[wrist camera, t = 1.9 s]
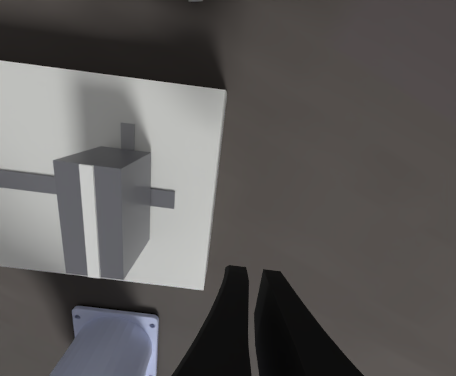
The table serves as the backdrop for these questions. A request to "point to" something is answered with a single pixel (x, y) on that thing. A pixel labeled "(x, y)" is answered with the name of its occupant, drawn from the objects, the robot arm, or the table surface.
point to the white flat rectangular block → (116, 138)
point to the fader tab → (103, 210)
